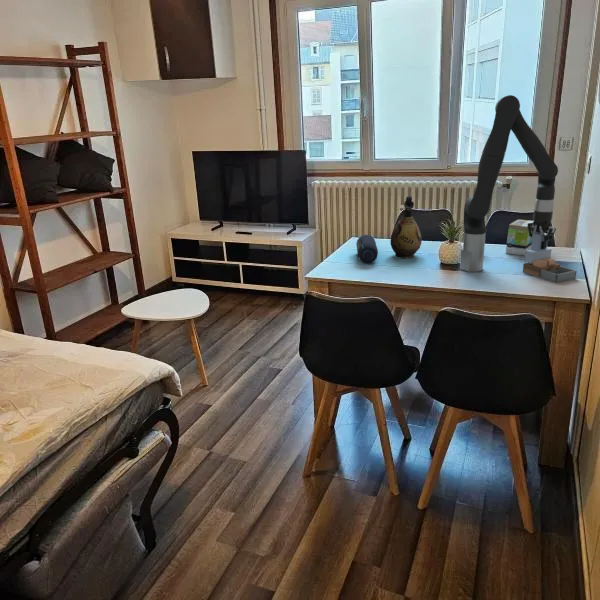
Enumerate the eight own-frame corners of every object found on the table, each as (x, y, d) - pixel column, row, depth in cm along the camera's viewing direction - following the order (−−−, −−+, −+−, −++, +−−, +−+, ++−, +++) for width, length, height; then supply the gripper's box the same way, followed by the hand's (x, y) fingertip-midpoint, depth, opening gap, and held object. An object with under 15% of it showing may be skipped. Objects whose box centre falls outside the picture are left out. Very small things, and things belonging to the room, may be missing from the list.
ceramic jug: (421, 260, 260) (424, 199, 250) (390, 260, 263) (391, 199, 252) (420, 251, 276) (422, 193, 266) (390, 251, 278) (391, 193, 268)
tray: (556, 282, 221) (557, 274, 220) (540, 277, 228) (541, 269, 227) (575, 278, 225) (576, 270, 224) (559, 273, 232) (560, 265, 231)
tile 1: (539, 267, 229) (540, 262, 228) (532, 264, 232) (533, 260, 231) (546, 265, 230) (547, 261, 229) (539, 263, 234) (539, 259, 233)
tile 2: (548, 265, 231) (549, 260, 230) (541, 263, 234) (541, 258, 233) (555, 263, 232) (555, 259, 231) (548, 261, 235) (548, 257, 235)
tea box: (525, 256, 259) (529, 226, 254) (505, 253, 265) (507, 224, 260) (534, 248, 270) (537, 220, 265) (514, 246, 276) (517, 218, 271)
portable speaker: (356, 251, 281) (355, 233, 277) (375, 251, 280) (375, 232, 276) (357, 265, 257) (357, 245, 254) (378, 264, 257) (378, 244, 253)
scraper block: (531, 263, 232) (534, 236, 227) (524, 261, 235) (527, 234, 231) (550, 259, 236) (553, 233, 231) (543, 257, 239) (546, 231, 235)
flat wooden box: (538, 277, 229) (539, 268, 227) (522, 271, 236) (523, 263, 235) (559, 273, 233) (560, 264, 231) (543, 267, 241) (544, 259, 239)
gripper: (524, 207, 232) (520, 245, 238) (550, 213, 220) (545, 253, 226) (537, 205, 235) (532, 243, 241) (563, 211, 222) (558, 250, 228)
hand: (538, 247), depth 233 cm, fingers closed on scraper block, 4 cm apart
